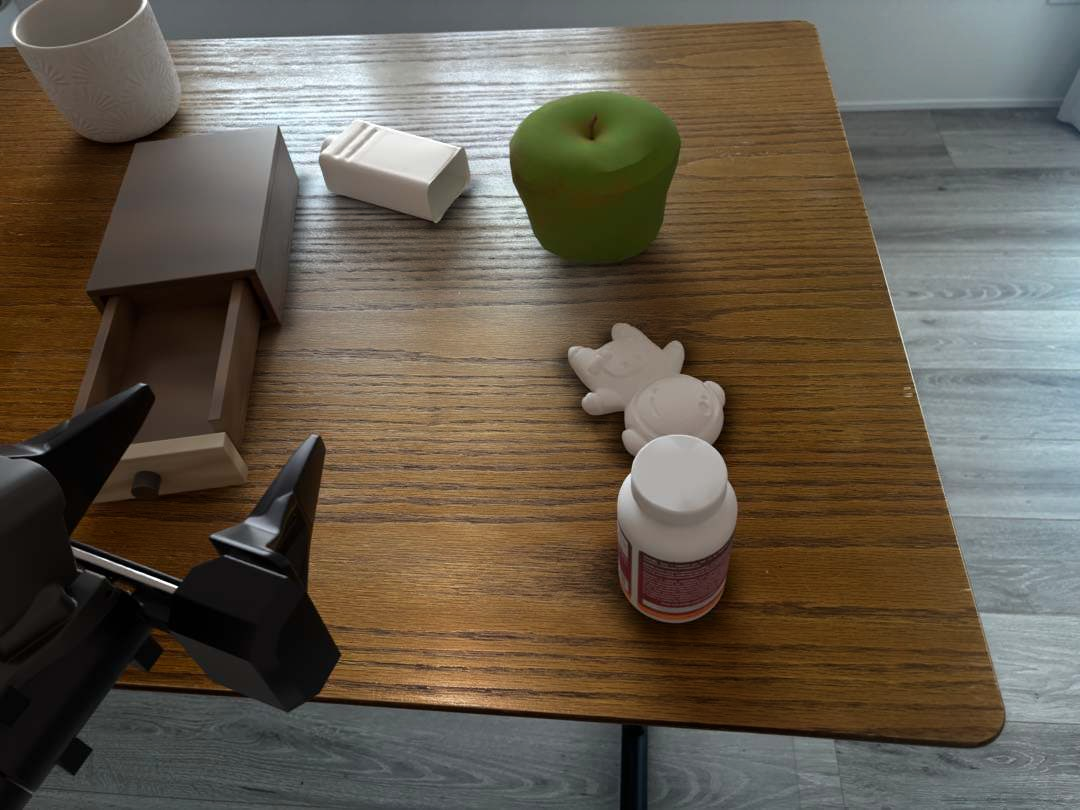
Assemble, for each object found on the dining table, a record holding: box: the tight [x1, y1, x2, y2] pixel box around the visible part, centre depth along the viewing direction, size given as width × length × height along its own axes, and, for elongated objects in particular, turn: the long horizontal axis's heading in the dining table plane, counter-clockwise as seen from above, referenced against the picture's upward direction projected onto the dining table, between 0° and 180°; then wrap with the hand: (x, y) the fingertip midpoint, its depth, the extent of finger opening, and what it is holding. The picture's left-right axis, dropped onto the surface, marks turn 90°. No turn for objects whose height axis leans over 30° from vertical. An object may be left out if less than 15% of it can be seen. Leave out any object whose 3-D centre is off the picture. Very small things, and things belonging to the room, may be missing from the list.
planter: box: [9, 0, 182, 144], centre depth 81 cm, size 12×12×11 cm
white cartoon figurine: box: [567, 322, 726, 458], centre depth 57 cm, size 9×12×3 cm
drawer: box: [70, 277, 263, 505], centre depth 59 cm, size 19×11×4 cm, turn 6°
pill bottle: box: [616, 435, 739, 624], centre depth 45 cm, size 6×6×11 cm
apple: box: [508, 90, 682, 265], centre depth 64 cm, size 12×12×11 cm
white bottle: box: [318, 118, 472, 224], centre depth 73 cm, size 6×13×4 cm, turn 62°
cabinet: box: [85, 124, 300, 329], centre depth 69 cm, size 18×12×6 cm
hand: (231, 414), depth 37 cm, fingers open, 9 cm apart
